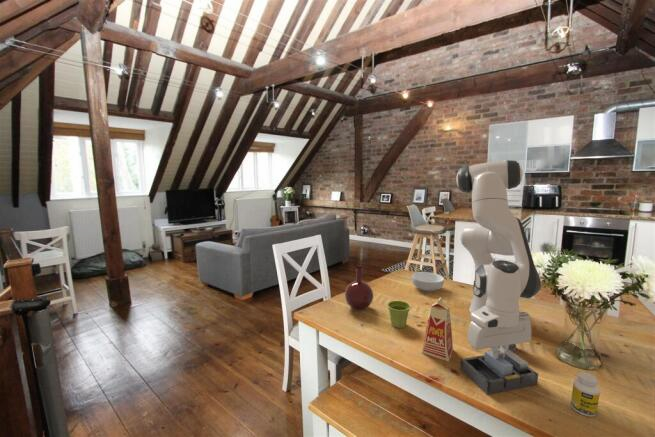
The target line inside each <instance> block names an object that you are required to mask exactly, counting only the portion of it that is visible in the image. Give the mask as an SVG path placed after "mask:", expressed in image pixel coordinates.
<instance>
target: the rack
mask: <svg viewBox="0 0 655 437" xmlns="http://www.w3.org/2000/svg"><path fill="white" fill-rule="evenodd" d="M484 359H485V354H484V355H477V356H471V357H470V356H469V357H464V358H460V365H459V367H460V368H459V369H460V370H461V371H462V373H464V374H465V375H466V376H467V377H468V378H469V379H470V380H471V381H472V382H473V383H474V384H476V385H477V387H479V389H480V390H482V392H484V393H485V394H486V395H490V394H496V393H501V392H507V391H511V390H516V389H521V388H522V389H523V388H528V387H532V386H536V385H538V383H539V382H538V380H539V373H538V372H536V371H535V370H534V369H533V368H530V367H529V362H528V361H526V360H525V359H523V358H522V357H520V356H519V355H517V354H516V352H512V351H510V350H509V349H507V351H506V352H505V357H504V359H505V360H506V361H508V362H509V363H510V364H512V365H513V371H512V375H510V376H505V377H503V376H502V375H501V374H499V373H498V372H497V371H496V370H495V369H493V368H492V367H491V366H490V365H488V364H487V363H486V362H485V361H484Z"/></svg>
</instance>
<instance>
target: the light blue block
mask: <svg viewBox="0 0 655 437" xmlns="http://www.w3.org/2000/svg"><path fill="white" fill-rule="evenodd" d="M492 354H493V351H492V350H488V351H485V352H484V355H485V359H484V361H485V362H486V363H487V364H488V365H490V366H491V367H492V368H493V369H495V370H496V371H497V372H498V373H499V374H501V375H502V376H503V377H505V376H510V375H512V371H513V365H512V364H510V363H509V362H508V361H506V360H505V359H504V358H498V359H495V358H494V357H493V355H492Z"/></svg>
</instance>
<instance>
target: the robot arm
mask: <svg viewBox="0 0 655 437" xmlns="http://www.w3.org/2000/svg"><path fill="white" fill-rule="evenodd" d="M523 175H524V173H523V169H522V167H521V165H520V163H519V162H518V161H517V160H509V159H507V160H505V161H503V160H502V161H501V160H498V161H497V160H496V161H487V162H482V163H481V162H480V163H476V164H472V165H465V166H461V167H460V168H459V169H458V170H457V173H456V177H455V182H456V185H457V187H458V189H459V191H461V192H462V193H466V194H471V211H472V216H473V219H474V221H475V222H476V223H477V224H479V225H480V226H479V225H478V226H477V225H476V226H466V227H465V228H463V230H462V231H461V233H460V237H459V238H460V243H461V245H462V246H463V247H464V248H465V250H467V251H468V252H469V254H470V256H471V257H472V260H473V263H474V280H473V288H472V289H473V295H472V299H471V303H470V307H469V309H468V310H469V313H470V314H469V318H470V320H472V321H471V322H470V323H469V325H468V330H467V343H468V344H469V346H470V347H472V348H473V349H474V350H475V351H479V350H486V349H491V351H493V354H492V355H493V357H494V358H495V359H498V358H504V357H505V352H506V351H507V349H508V348H509V345H511V344H515V345H517V344H523V343H529V342H530V341H531V339H532V324H531V316H530V314H529V313H527V311H522V310H521V309H520V304H519V300H520V298H523V299H531V298H533V297H534V296H536V295H537V294H538V293H539V292H540V291H541V288H542V281H541V277H540V275H539V271H538V270H537V268H536V265H535V262H534V259H533V255H532V253H531V249H530V245H529V240H528V237H527V234H526V231H525V227H524V225H523V222H522V221H521V220H520V218H519V217H517V216H515V215H514V214H513V212H512V211H511V209H510V206H509V201H508V199H509V198H508V192H507V190H511V189H515V188H517V187H519V185H521V182H522V179H523ZM492 254H493V255H500V256H506V257H507V256H509V257H510V256H511V257H512V256H513V257H514V260H515V263H514V262H512V261H509V260H501V259H498V260H495V259H494V257H493V255H492ZM499 346H500V348H499Z"/></svg>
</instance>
